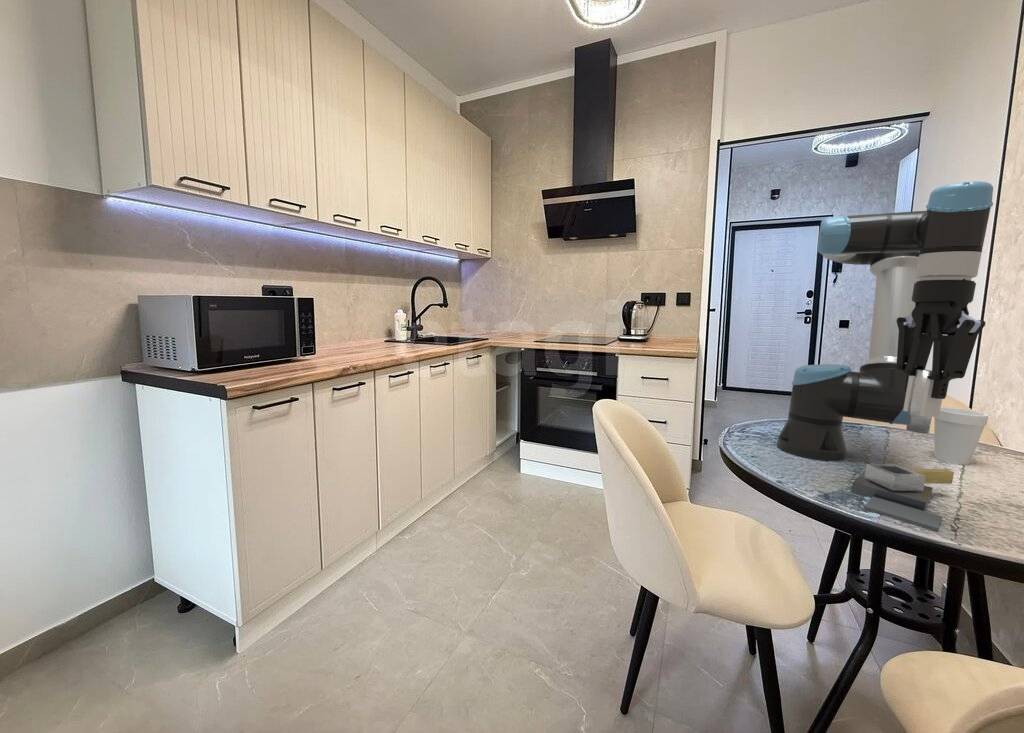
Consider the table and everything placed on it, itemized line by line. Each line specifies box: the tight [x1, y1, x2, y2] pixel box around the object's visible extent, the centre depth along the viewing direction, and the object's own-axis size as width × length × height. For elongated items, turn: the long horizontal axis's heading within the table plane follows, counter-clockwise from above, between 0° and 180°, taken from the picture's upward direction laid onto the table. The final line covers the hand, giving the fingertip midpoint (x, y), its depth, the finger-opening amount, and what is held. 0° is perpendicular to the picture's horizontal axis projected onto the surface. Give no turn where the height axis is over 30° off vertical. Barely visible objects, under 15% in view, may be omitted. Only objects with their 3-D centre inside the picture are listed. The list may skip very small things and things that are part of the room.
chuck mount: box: [850, 470, 934, 511], centre depth 88 cm, size 11×11×2 cm
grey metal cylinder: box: [905, 369, 933, 434], centre depth 76 cm, size 3×3×11 cm
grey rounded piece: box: [933, 406, 989, 466], centre depth 110 cm, size 10×9×13 cm
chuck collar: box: [864, 463, 955, 491], centre depth 88 cm, size 15×6×3 cm, turn 93°
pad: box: [863, 496, 944, 532], centre depth 79 cm, size 10×7×1 cm
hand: (920, 413), depth 76 cm, fingers closed on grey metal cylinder, 2 cm apart
